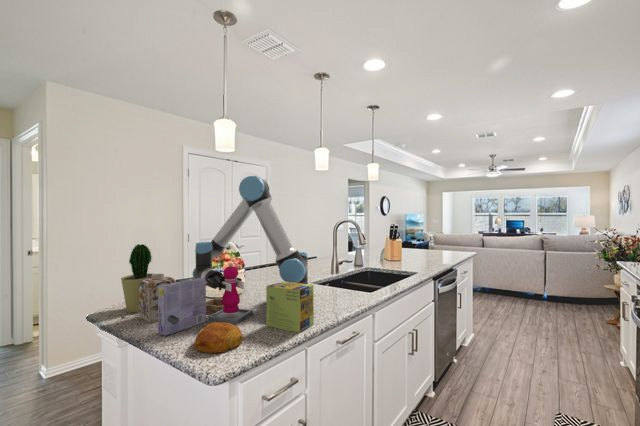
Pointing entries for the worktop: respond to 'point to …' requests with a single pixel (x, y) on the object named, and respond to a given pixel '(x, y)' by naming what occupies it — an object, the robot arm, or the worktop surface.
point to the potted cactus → (136, 276)
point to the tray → (230, 316)
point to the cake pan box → (181, 305)
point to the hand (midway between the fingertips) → (236, 286)
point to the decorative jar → (151, 296)
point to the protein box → (290, 306)
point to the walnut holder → (211, 305)
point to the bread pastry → (218, 337)
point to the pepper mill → (231, 297)
